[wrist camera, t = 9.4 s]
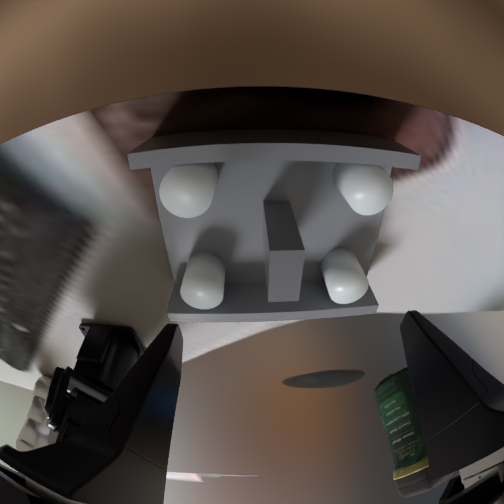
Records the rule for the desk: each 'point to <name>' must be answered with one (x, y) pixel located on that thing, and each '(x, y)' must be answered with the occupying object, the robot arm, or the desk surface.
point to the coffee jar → (405, 434)
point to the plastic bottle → (35, 419)
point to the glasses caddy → (270, 220)
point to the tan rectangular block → (248, 53)
